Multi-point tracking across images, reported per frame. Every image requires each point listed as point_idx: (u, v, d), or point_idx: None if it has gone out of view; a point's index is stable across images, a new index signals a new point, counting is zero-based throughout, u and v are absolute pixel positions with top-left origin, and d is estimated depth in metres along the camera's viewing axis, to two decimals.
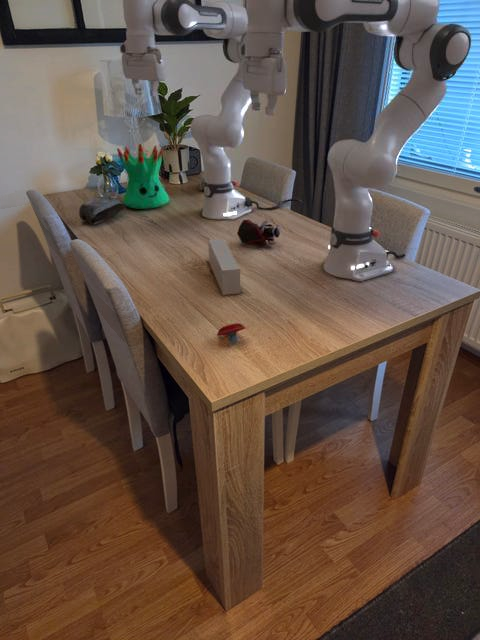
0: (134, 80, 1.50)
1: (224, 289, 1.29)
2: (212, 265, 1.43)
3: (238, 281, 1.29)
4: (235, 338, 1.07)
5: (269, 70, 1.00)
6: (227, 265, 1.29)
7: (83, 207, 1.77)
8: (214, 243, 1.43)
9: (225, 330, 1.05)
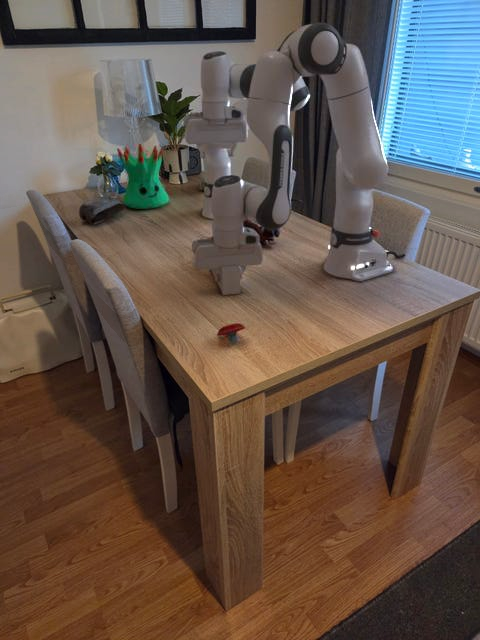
0: (231, 142, 1.47)
1: (224, 289, 1.29)
2: None
3: (238, 281, 1.29)
4: (235, 338, 1.07)
5: None
6: None
7: (83, 207, 1.77)
8: None
9: (225, 330, 1.05)
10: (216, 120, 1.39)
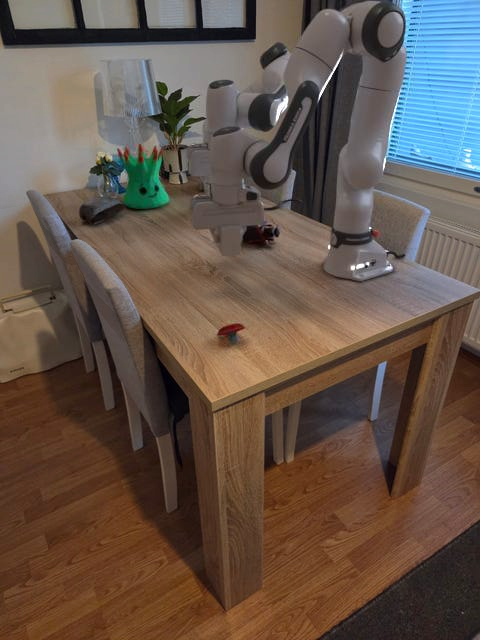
0: None
1: (223, 250, 1.23)
2: None
3: (238, 241, 1.23)
4: (235, 338, 1.07)
5: None
6: None
7: (83, 207, 1.77)
8: None
9: (225, 330, 1.05)
10: None
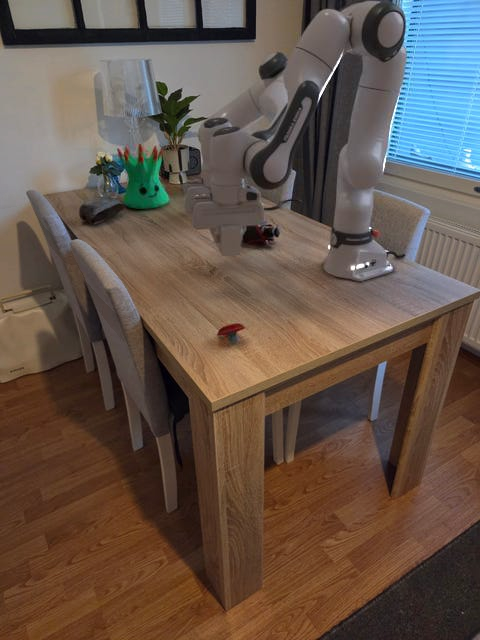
0: None
1: (223, 250, 1.23)
2: None
3: (238, 241, 1.23)
4: (235, 338, 1.07)
5: None
6: None
7: (83, 207, 1.77)
8: None
9: (225, 330, 1.05)
10: None
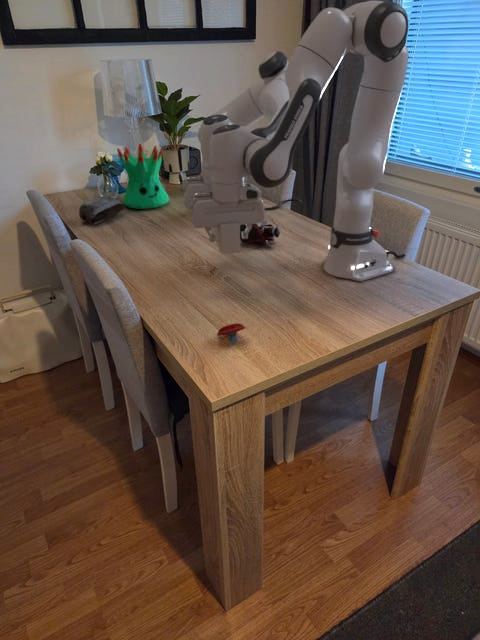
0: None
1: (223, 247, 1.23)
2: None
3: (238, 239, 1.22)
4: (235, 338, 1.07)
5: None
6: None
7: (83, 207, 1.77)
8: None
9: (225, 330, 1.05)
10: None
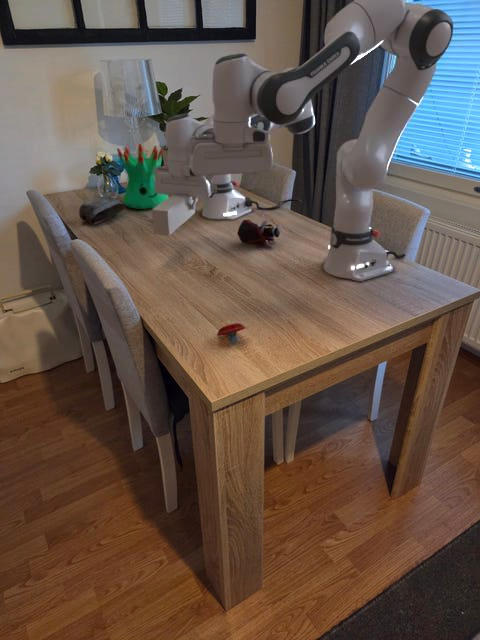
0: None
1: (155, 228, 1.40)
2: None
3: (166, 223, 1.38)
4: (235, 338, 1.07)
5: None
6: (162, 206, 1.39)
7: (83, 207, 1.77)
8: None
9: (225, 330, 1.05)
10: (176, 176, 1.47)
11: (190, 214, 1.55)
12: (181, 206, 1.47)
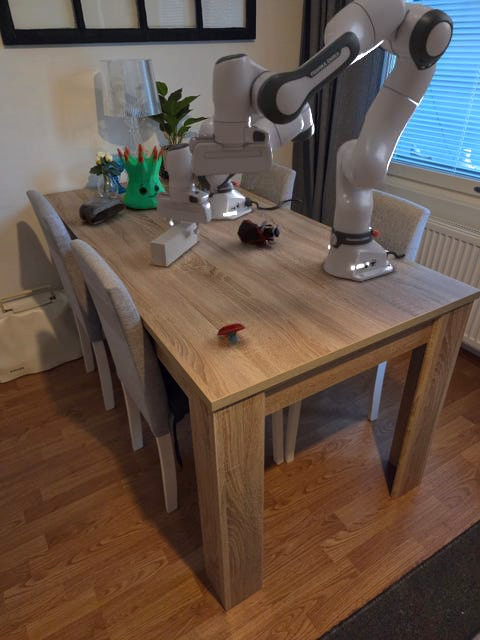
0: None
1: (153, 259, 1.47)
2: None
3: (164, 255, 1.45)
4: (235, 338, 1.07)
5: None
6: (161, 239, 1.46)
7: (83, 207, 1.77)
8: (182, 222, 1.60)
9: (225, 330, 1.05)
10: (177, 202, 1.52)
11: (192, 244, 1.61)
12: (181, 237, 1.53)
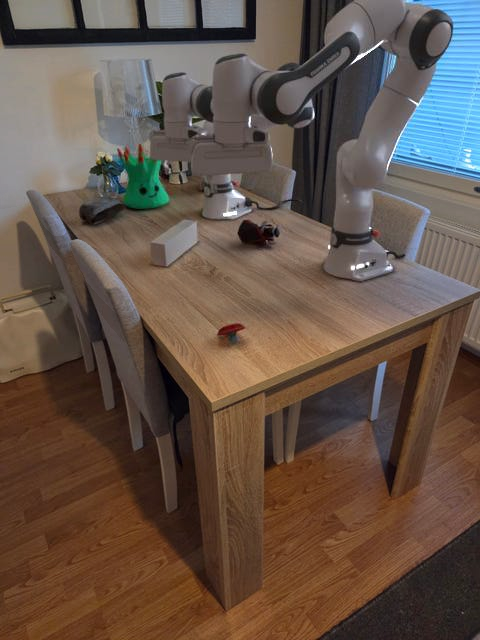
0: None
1: (153, 259, 1.47)
2: None
3: (164, 255, 1.45)
4: (235, 338, 1.07)
5: None
6: (161, 239, 1.46)
7: (83, 207, 1.77)
8: (182, 222, 1.60)
9: (225, 330, 1.05)
10: (174, 139, 1.41)
11: (192, 244, 1.61)
12: (181, 237, 1.53)
